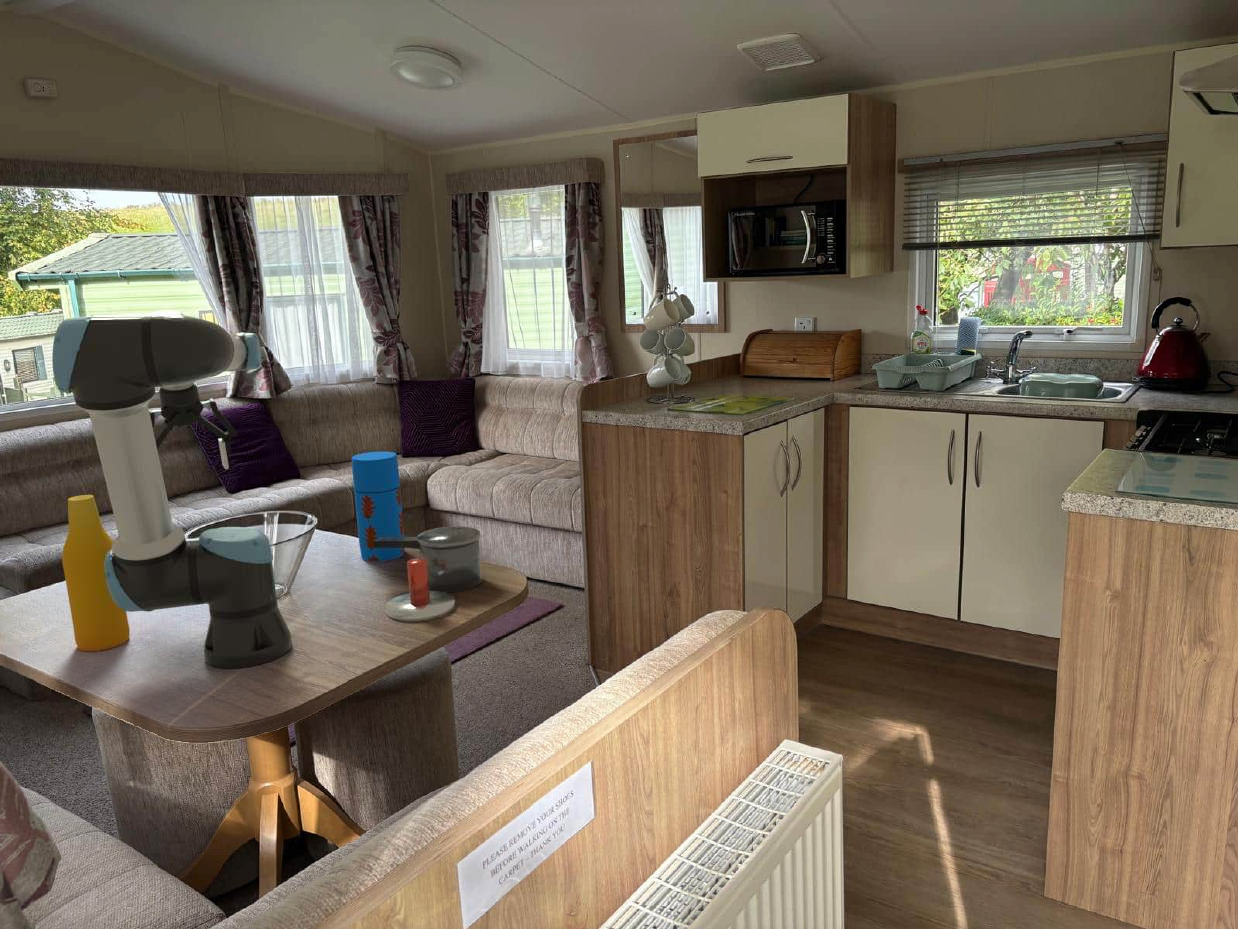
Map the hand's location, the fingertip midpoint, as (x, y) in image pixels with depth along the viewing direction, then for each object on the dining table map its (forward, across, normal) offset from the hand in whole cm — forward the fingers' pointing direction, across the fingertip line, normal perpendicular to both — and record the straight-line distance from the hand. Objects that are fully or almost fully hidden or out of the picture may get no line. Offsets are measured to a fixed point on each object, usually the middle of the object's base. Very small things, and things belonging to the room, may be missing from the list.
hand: (193, 473), depth 206 cm
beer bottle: (+18, +25, +29) cm, 42 cm away
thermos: (+27, -37, +11) cm, 48 cm away
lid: (+17, -31, +51) cm, 62 cm away
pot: (+21, -39, +38) cm, 58 cm away
